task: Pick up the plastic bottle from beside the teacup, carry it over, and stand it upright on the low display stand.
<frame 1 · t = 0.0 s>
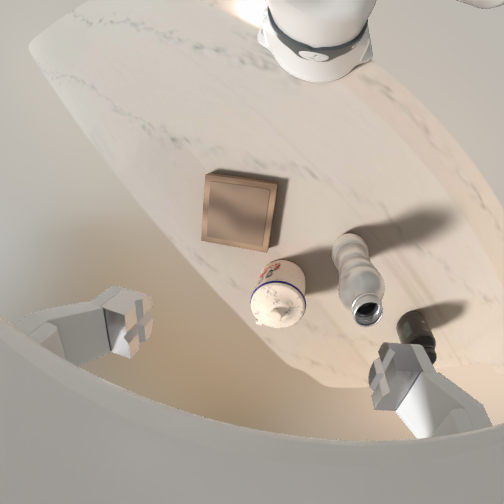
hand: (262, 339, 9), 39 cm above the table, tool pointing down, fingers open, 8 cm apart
teacup with lid: (278, 284, 53), on the table
plastic bottle: (347, 246, 47), on the table
display stand: (239, 210, 48), on the table
supplement bottle: (409, 322, 51), on the table
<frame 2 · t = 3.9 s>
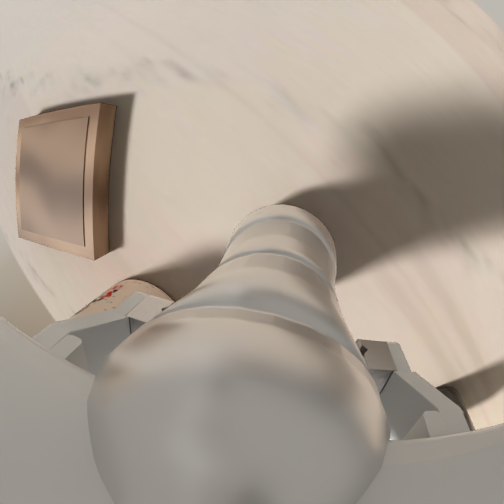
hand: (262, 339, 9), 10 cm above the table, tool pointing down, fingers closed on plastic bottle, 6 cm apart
teacup with lid: (142, 331, 23), on the table
plastic bottle: (284, 248, 18), on the table, touching gripper
display stand: (62, 177, 20), on the table
supplement bottle: (430, 406, 21), on the table
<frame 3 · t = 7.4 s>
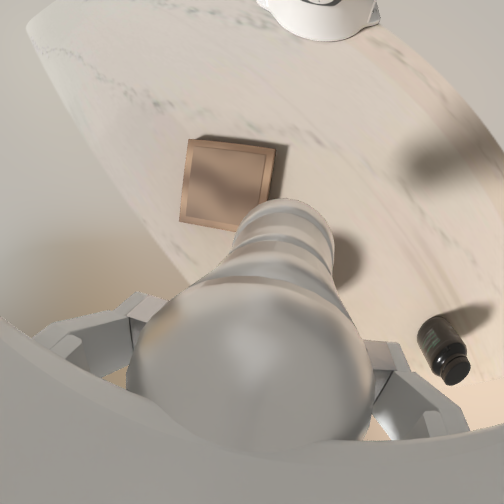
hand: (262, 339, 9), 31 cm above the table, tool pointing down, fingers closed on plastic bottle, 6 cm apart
plastic bottle: (286, 238, 20), point 19 cm above the table, touching gripper
display stand: (227, 185, 38), on the table
supplement bottle: (432, 331, 40), on the table
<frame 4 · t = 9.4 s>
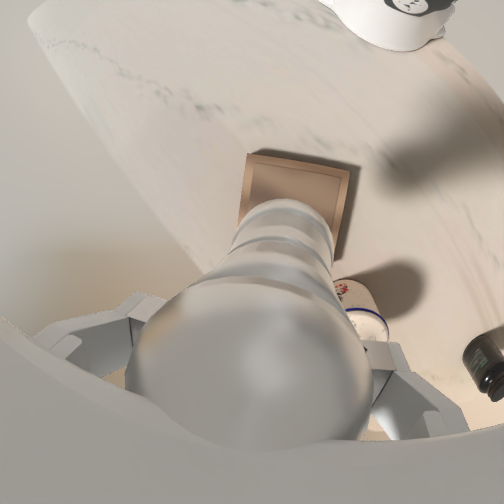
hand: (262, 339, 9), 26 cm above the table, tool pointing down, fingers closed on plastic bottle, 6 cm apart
teacup with lid: (336, 313, 37), on the table
plastic bottle: (285, 238, 20), point 14 cm above the table, touching gripper
display stand: (291, 209, 34), on the table
supplement bottle: (475, 349, 35), on the table
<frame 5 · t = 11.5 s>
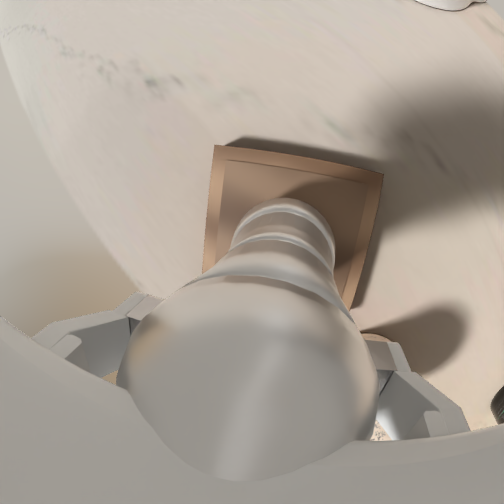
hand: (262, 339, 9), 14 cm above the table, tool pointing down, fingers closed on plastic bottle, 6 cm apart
teacup with lid: (348, 373, 25), on the table
plastic bottle: (286, 238, 20), point 2 cm above the table, touching display stand, gripper
display stand: (287, 233, 22), on the table
when the fingers open (13 cm above the table, at t = 12.6 s): plastic bottle stays where it is, resting on display stand.
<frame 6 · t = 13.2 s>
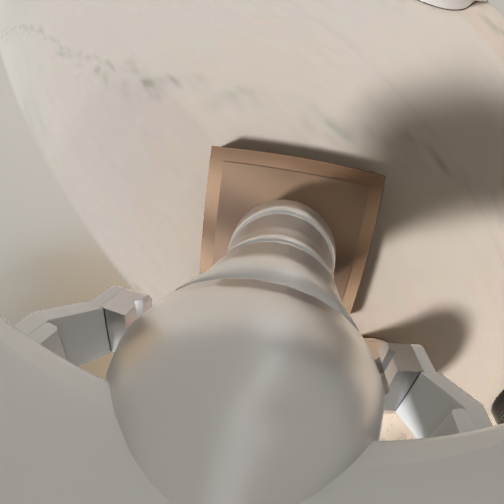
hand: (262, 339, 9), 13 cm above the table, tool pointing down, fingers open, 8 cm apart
teacup with lid: (347, 377, 25), on the table
plastic bottle: (285, 242, 19), point 2 cm above the table, touching display stand
display stand: (286, 236, 21), on the table
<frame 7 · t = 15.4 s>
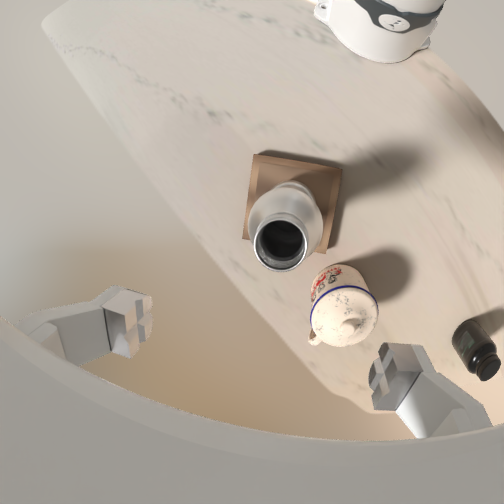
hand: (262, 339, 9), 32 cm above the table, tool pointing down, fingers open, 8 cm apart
teacup with lid: (332, 295, 42), on the table
plastic bottle: (291, 203, 37), point 2 cm above the table, touching display stand
display stand: (291, 202, 39), on the table
supplement bottle: (464, 333, 40), on the table
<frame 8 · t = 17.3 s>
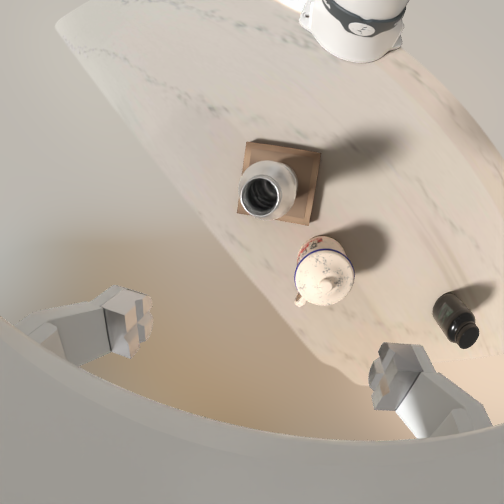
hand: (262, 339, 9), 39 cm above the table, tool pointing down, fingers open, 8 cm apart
teacup with lid: (316, 265, 49), on the table
plastic bottle: (278, 182, 43), point 2 cm above the table, touching display stand
display stand: (279, 182, 45), on the table
supplement bottle: (444, 306, 46), on the table
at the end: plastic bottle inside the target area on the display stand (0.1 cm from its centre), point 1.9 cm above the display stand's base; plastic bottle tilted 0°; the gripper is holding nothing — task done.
